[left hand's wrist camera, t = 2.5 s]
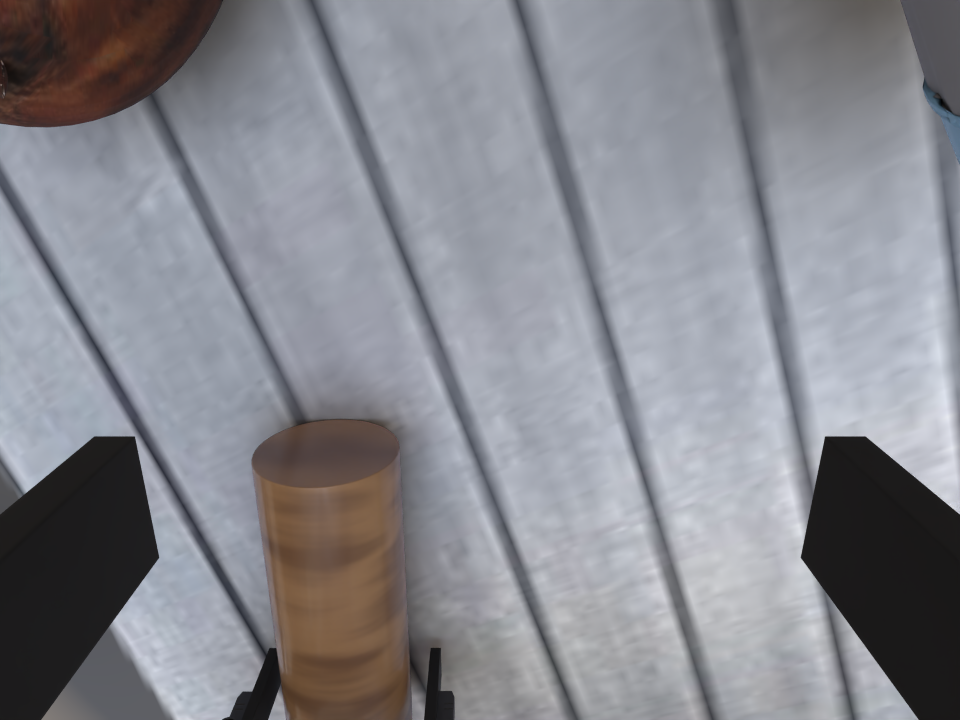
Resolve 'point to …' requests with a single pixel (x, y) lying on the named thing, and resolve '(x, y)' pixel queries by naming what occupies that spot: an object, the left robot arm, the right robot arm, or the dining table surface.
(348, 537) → the rod
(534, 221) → the dining table surface
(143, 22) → the cat face balloon
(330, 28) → the dining table surface
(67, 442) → the dining table surface
